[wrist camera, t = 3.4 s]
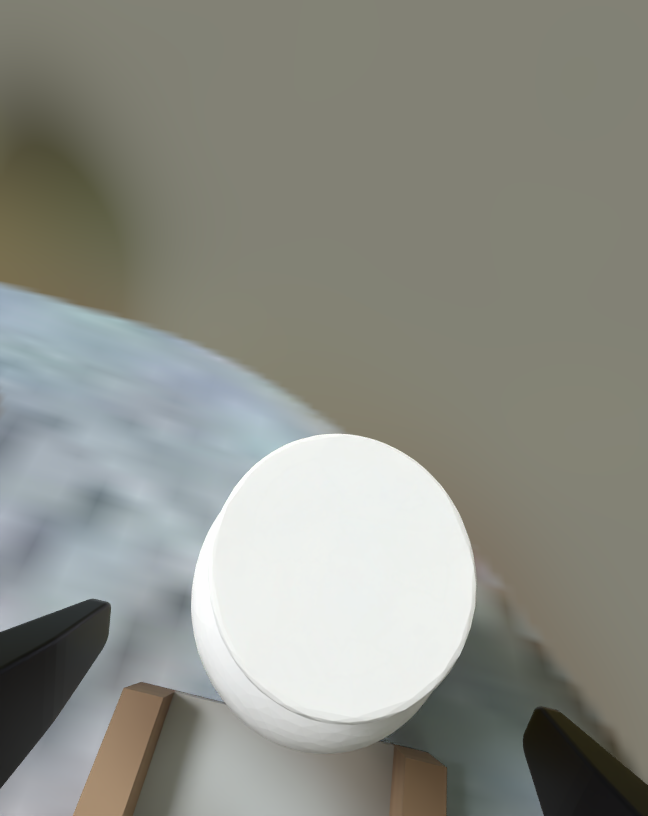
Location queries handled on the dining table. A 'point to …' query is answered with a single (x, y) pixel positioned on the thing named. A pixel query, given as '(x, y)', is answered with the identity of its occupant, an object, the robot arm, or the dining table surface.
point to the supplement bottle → (333, 593)
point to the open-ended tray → (243, 768)
